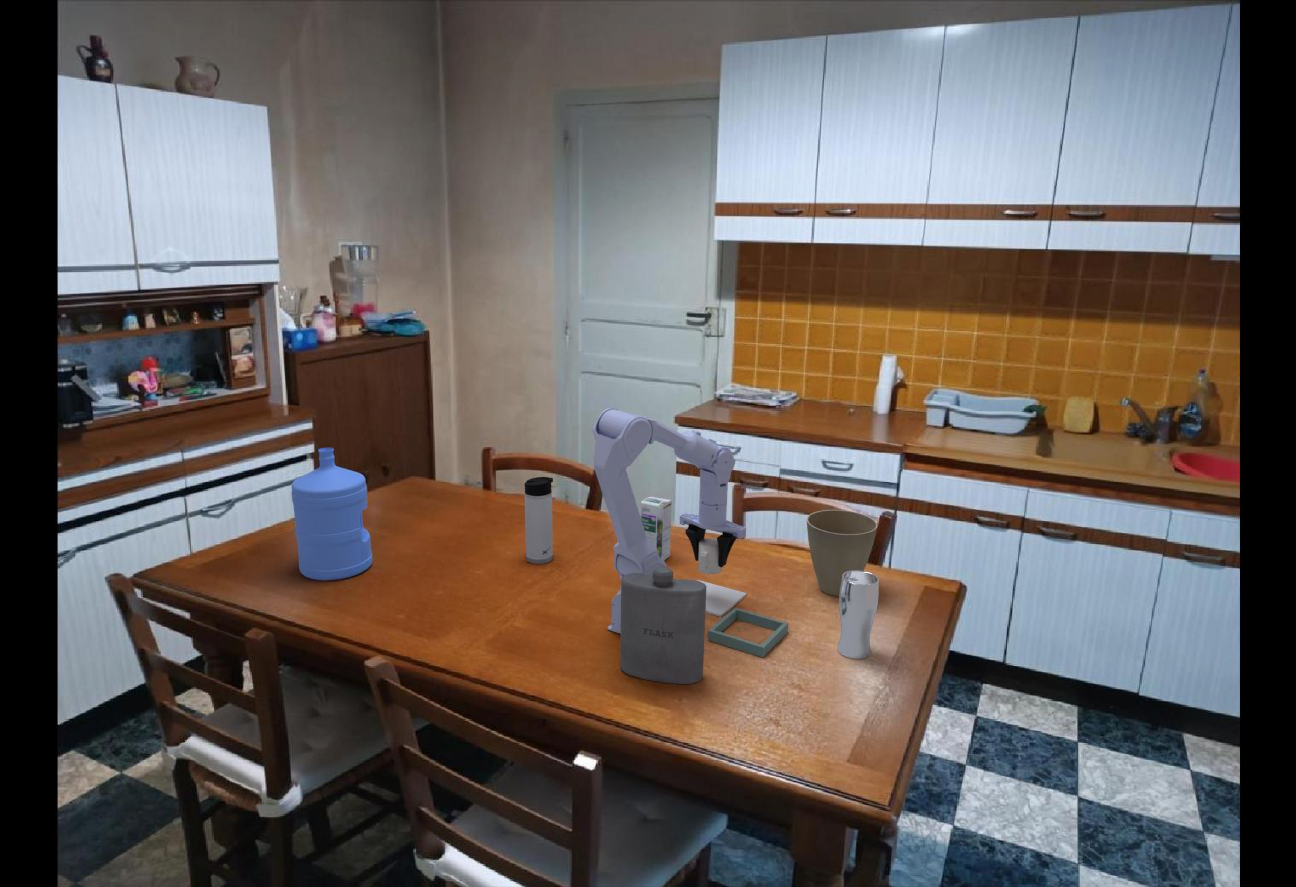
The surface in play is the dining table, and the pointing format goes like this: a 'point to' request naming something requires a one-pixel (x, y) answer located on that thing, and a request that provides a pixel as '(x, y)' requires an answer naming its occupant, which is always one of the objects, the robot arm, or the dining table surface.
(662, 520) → the syrup box
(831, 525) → the plant pot
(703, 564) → the jug
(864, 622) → the beer glass
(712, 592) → the mat
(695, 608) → the flask
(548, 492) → the travel mug
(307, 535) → the water jug
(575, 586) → the dining table surface
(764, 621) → the holder
